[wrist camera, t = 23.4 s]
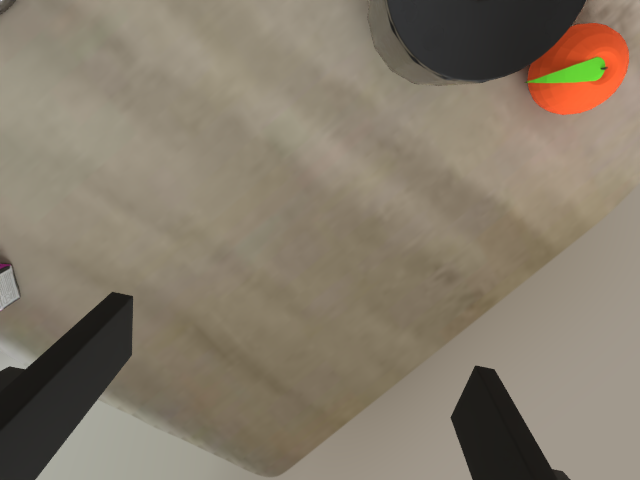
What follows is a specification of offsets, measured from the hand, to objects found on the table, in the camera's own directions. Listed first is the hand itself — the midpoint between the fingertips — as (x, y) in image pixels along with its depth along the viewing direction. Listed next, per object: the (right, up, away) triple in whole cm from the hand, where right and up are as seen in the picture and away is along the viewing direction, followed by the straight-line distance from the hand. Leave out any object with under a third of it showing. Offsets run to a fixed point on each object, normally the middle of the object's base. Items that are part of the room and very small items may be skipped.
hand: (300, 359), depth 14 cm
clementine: (+22, +20, +20) cm, 36 cm away
